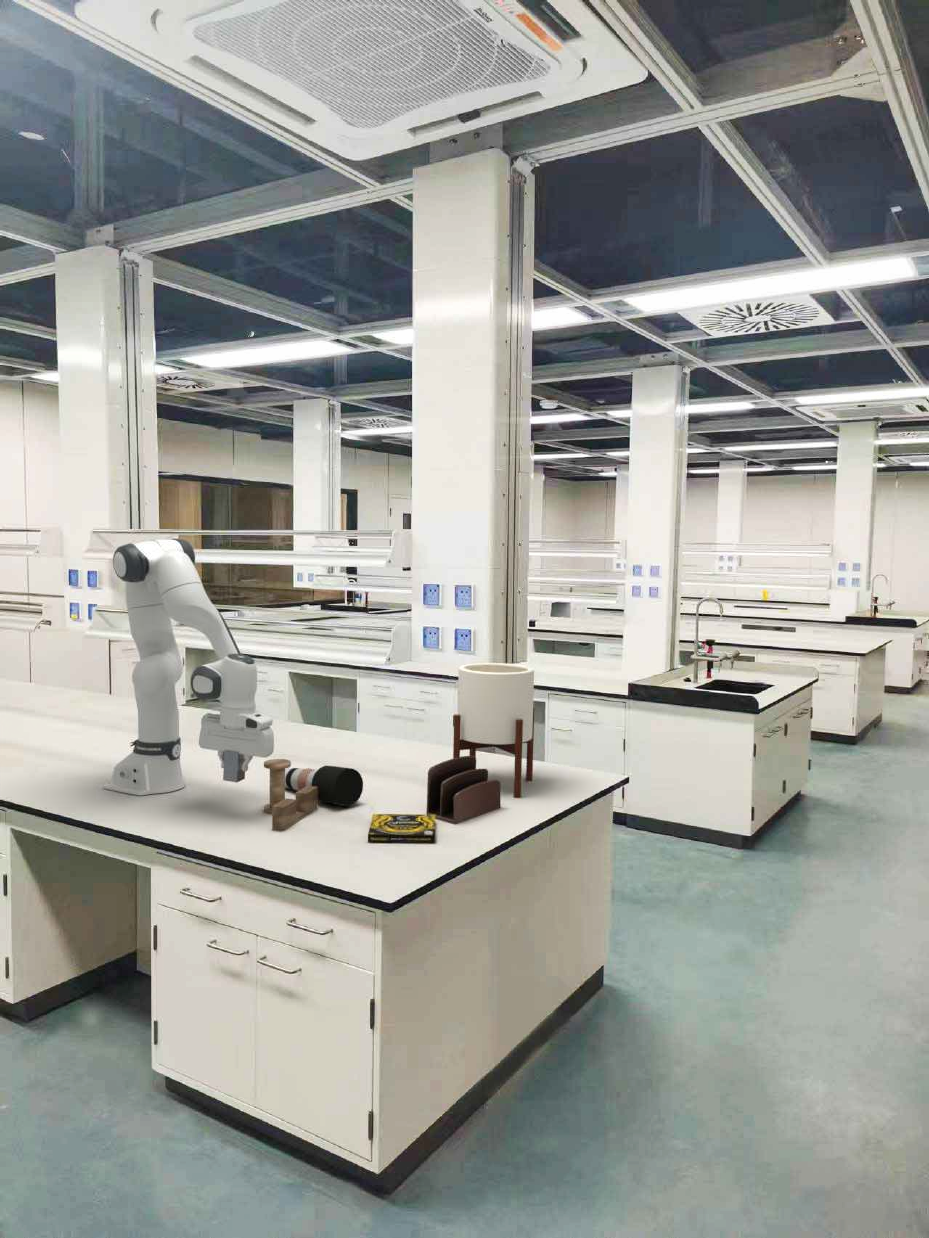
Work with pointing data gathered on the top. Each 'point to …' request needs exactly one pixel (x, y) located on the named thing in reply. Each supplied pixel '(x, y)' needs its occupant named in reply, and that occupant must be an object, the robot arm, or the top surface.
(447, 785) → the letter holder
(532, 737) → the plant pot with stand
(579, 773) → the top surface
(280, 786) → the bobbin
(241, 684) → the robot arm
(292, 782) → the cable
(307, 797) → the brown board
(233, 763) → the block
